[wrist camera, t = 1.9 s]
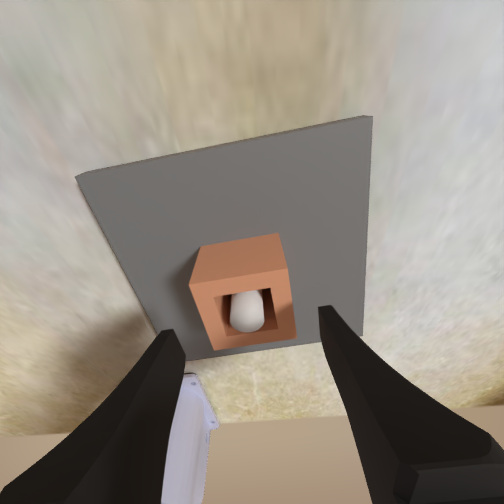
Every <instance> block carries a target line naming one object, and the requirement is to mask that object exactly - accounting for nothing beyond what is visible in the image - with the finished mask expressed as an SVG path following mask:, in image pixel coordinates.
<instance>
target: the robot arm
mask: <svg viewBox="0 0 504 504" xmlns="http://www.w3.org/2000/svg"><path fill="white" fill-rule="evenodd" d="M318 316H319V330H320V338H321V342H322V346H323V349H324V353H325V357H326V359H327V362H328V365H329V367H330V370H331V372H332V375H333V377H334V380H335V383H336V385H337V388H338V390H339V393H340V396H341V398H342V401H343V403H344V406H345V409H346V412H347V415H348V418H349V422H350V425H351V429H352V432H353V435H354V439H355V442H356V446H357V449H358V453H359V456H360V460H361V463H362V467H363V471H364V474H365V478H366V482H367V485H368V489H369V493H370V496H371V500H372V503H373V504H504V450H503V449H502V447H501V446H500V445H499V444H498V443H497V442H496V441H495V439H494V438H493V437H492V436H491V435H490V434H489V433H488V432H486V431H484V430H482V429H481V428H479V427H477V426H476V425H474V424H472V423H471V422H469V421H467V420H466V419H464V418H462V417H461V416H459V415H457V414H456V413H454V412H453V411H451V410H450V409H448V408H447V407H445V406H444V405H442V404H441V403H439V402H437V401H436V400H435V399H433V398H432V397H430V396H429V395H428V394H426V393H425V392H423V391H422V390H421V389H419V388H418V387H416V386H415V385H414V384H412V383H411V382H409V381H408V380H407V379H406V378H404V377H403V376H402V375H401V374H399V373H398V372H397V371H396V370H394V369H393V368H392V367H391V366H390V365H388V364H387V363H386V362H385V361H384V360H383V359H381V358H380V357H379V356H378V355H377V354H376V353H375V352H374V351H373V350H372V349H371V348H370V347H369V346H368V345H367V344H366V343H365V342H364V341H363V340H362V339H361V338H360V337H359V336H358V335H357V334H356V333H355V332H354V331H353V330H352V329H351V328H350V327H349V325H348V324H347V323H346V322H345V321H344V320H343V318H342V317H341V316H340V315H339V314H338V312H337V311H336V310H335V308H334V307H333V306H332V305H326V306H320V307H318ZM185 360H186V354H185V352H184V350H183V348H182V346H181V344H180V342H179V340H178V338H177V336H176V333H175V331H174V329H167V330H161V332H160V333H159V334H158V336H157V337H156V338H155V340H154V341H153V342H152V344H151V345H150V346H149V347H148V349H147V350H146V351H145V353H144V354H143V355H142V357H141V358H140V359H139V361H138V362H137V363H136V364H135V366H134V367H133V368H132V369H131V371H130V372H129V373H128V374H127V375H126V377H125V378H124V379H123V380H122V381H121V383H120V384H119V385H118V386H117V387H116V388H115V390H114V391H113V392H112V393H111V394H110V395H109V396H108V397H107V398H106V399H105V400H104V402H103V403H102V404H101V405H100V406H99V407H98V408H97V409H96V410H95V411H94V412H93V413H92V414H91V415H90V416H89V417H88V418H87V419H85V420H84V421H83V422H82V423H81V424H80V425H79V426H78V427H77V428H76V429H75V430H74V431H73V432H72V433H71V434H69V435H68V436H67V437H66V438H65V439H64V440H63V441H61V442H60V443H59V444H58V445H57V446H56V447H54V449H52V450H51V451H50V452H48V453H47V455H45V456H44V457H42V459H40V460H39V461H37V462H36V463H35V464H34V465H32V466H31V467H30V468H28V469H27V470H26V471H25V472H23V473H22V474H21V475H19V476H18V477H17V478H15V479H14V480H13V481H12V482H10V483H9V484H8V485H6V486H5V487H4V488H3V490H2V491H1V493H0V504H201V503H202V500H203V495H204V488H205V478H206V468H207V459H208V450H209V440H210V431H211V430H212V429H217V428H219V421H218V419H217V417H216V415H215V413H214V410H213V408H212V406H211V404H210V402H209V400H208V398H207V396H206V393H205V391H204V389H203V387H202V385H201V383H200V381H199V378H198V376H197V375H195V374H186V375H184V369H185Z"/></svg>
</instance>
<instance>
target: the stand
mask: <svg viewBox="0 0 504 504" xmlns="http://www.w3.org/2000/svg"><path fill="white" fill-rule="evenodd" d="M372 125H373V116H365V115H363V116H358V117H353V118H348V119H343V120H338V121H333V122H328V123H323V124H318V125H313V126H308V127H304V128H299V129H294V130H289V131H284V132H279V133H274V134H269V135H264V136H259V137H254V138H250V139H245V140H240V141H235V142H230V143H225V144H220V145H215V146H210V147H205V148H200V149H195V150H191V151H186V152H181V153H176V154H171V155H166V156H161V157H156V158H151V159H146V160H141V161H136V162H132V163H127V164H122V165H117V166H112V167H107V168H102V169H97V170H92V171H87V172H84V173H82V174H80V175H77V176H75V179H76V180H77V182H78V184H79V186H80V188H81V190H82V192H83V194H84V196H85V198H86V200H87V201H88V203H89V205H90V207H91V209H92V211H93V213H94V215H95V217H96V219H97V220H98V222H99V224H100V226H101V228H102V230H103V232H104V234H105V236H106V238H107V239H108V241H109V243H110V245H111V247H112V249H113V251H114V253H115V255H116V257H117V258H118V260H119V262H120V264H121V266H122V268H123V270H124V272H125V274H126V276H127V277H128V279H129V281H130V283H131V285H132V287H133V289H134V291H135V293H136V295H137V296H138V298H139V300H140V302H141V304H142V306H143V308H144V310H145V312H146V314H147V315H148V317H149V319H150V321H151V323H152V325H153V327H154V329H155V331H156V333H157V334H159V333H160V332H161V330H167V329H174V331H175V333H176V336H177V338H178V340H179V342H180V344H181V346H182V348H183V350H184V352H185V354H186V360H185V361H192V360H199V359H206V358H213V357H220V356H227V355H234V354H240V353H247V352H254V351H261V350H268V349H275V348H282V347H289V346H296V345H303V344H310V343H317V342H321V338H320V330H319V316H318V307H320V306H326V305H332V306H333V307H334V308H335V310H336V311H337V312H338V314H339V315H340V316H341V317H342V318H343V320H344V321H345V322H346V323H347V324H348V325H349V327H350V328H351V329H352V330H353V331H354V332H355V333H356V334H357V335H358V336H363V318H364V297H365V275H366V254H367V232H368V211H369V189H370V168H371V146H372ZM274 233H279V237H280V241H281V244H282V248H283V252H284V256H285V260H286V264H287V268H288V274H289V281H290V289H291V296H292V303H293V310H294V318H295V325H296V332H297V339H290V340H283V341H277V342H270V343H263V344H256V345H249V346H242V347H235V348H229V349H222V350H215V351H214V349H213V347H212V344H211V341H210V339H209V336H208V334H207V331H206V328H205V326H204V323H203V321H202V318H201V316H200V313H199V310H198V308H197V305H196V303H195V300H194V297H193V295H192V292H191V290H190V287H189V282H190V279H191V276H192V272H193V269H194V266H195V263H196V260H197V256H198V253H199V250H200V247H201V246H206V245H211V244H217V243H223V242H229V241H234V240H240V239H246V238H251V237H257V236H263V235H268V234H274ZM230 323H231V325H232V327H233V328H234V329H236V330H238V331H240V332H246V333H248V332H254V331H256V330H258V329H260V328H261V327H262V325H263V324H264V310H263V299H262V289H259V290H253V291H247V292H240V293H234V294H232V299H231V313H230Z"/></svg>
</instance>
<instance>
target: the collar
mask: <svg viewBox="0 0 504 504" xmlns="http://www.w3.org/2000/svg"><path fill="white" fill-rule="evenodd" d="M189 287H190V290H191V292H192V295H193V297H194V300H195V303H196V305H197V308H198V310H199V313H200V316H201V318H202V321H203V323H204V326H205V328H206V331H207V334H208V336H209V339H210V341H211V344H212V347H213V349H214V351H215V350H222V349H229V348H235V347H242V346H249V345H256V344H263V343H270V342H277V341H283V340H290V339H297V332H296V325H295V318H294V310H293V303H292V296H291V289H290V281H289V274H288V268H287V264H286V260H285V256H284V252H283V248H282V244H281V241H280V237H279V233H274V234H268V235H263V236H257V237H251V238H246V239H240V240H234V241H229V242H223V243H217V244H211V245H206V246H201V247H200V250H199V253H198V256H197V260H196V263H195V266H194V269H193V272H192V276H191V279H190V282H189ZM259 289H262V299H263V310H264V324H263V325H262V327H261V328H260V329H258V330H256V331H254V332H248V333H246V332H240V331H238V330H236V329H234V328H233V327H232V325H231V323H230V313H231V299H232V294H234V293H240V292H247V291H253V290H259Z"/></svg>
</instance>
